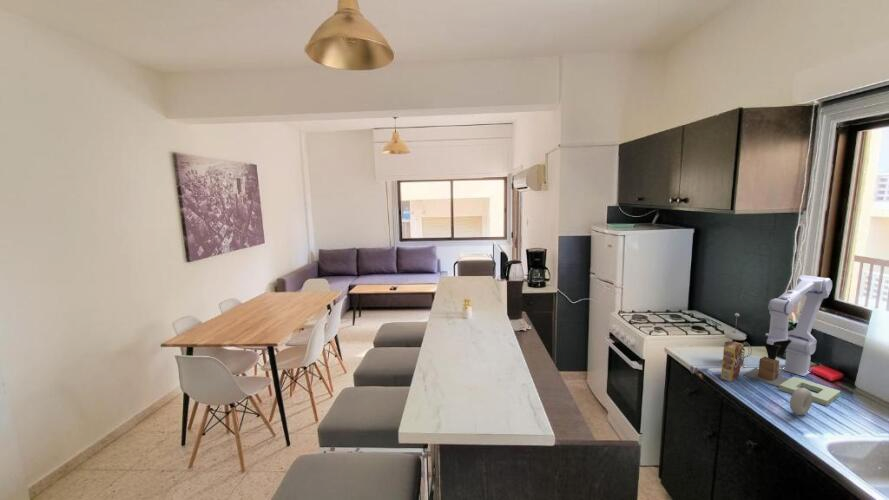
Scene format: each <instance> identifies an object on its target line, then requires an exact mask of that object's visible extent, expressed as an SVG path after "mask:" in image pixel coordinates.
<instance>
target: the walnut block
mask: <svg viewBox="0 0 889 500" xmlns="http://www.w3.org/2000/svg"><path fill="white" fill-rule="evenodd" d="M779 368H780V360H779V359H775V360H773V359H770V358H768V356H763V357H761V358H759V362H758V369H759V372H758V376H759V377H762V378H765V379H768V380H771V381H773V380H775V379H777V378H778V375H779V370H780V369H779Z"/></svg>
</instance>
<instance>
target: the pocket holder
mask: <svg viewBox="0 0 889 500" xmlns="http://www.w3.org/2000/svg"><path fill="white" fill-rule="evenodd" d="M798 388H806V389H808V390H809V391H810V392H811V394H812V402H814V403H817V404H820V405H823V406H828V405H830V404H831V403H832V402H834V401H835V400H836V399H838V398H839V397H840V396H841V390H838V389H835V388H832V387H829V386H826V385H823V384H820V383H817V382H813V381H810V380H807V379H804V378H800V377H797V376H794V375H793V376H791V377H790V378H789V379H788V380H787V381H785V382H783V383H782V384H780V385H779V387H778V390H780V391H782V392H786V393H788V394H791V395H792V394H793V393H794V391H795V390H796V389H798Z"/></svg>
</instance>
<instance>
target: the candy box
mask: <svg viewBox="0 0 889 500" xmlns="http://www.w3.org/2000/svg"><path fill="white" fill-rule="evenodd" d="M729 342H730V343H729V344H727V345H726V344H724V345H725V346H724V345H723V352H724V355H722V359H723V363H721V364H722V365H721V372H720V378H721V379H722V380H725V381H728V382H733V381H734V380H735V379H736V378H738V377H739V376H740V370H741V368H740V363H741V355H742V354H743V353H742V351H743V350H742V346H743V345H744V343H743V344H742V343H741V342H737V341H735V342H734V341H729ZM742 356H743V355H742Z"/></svg>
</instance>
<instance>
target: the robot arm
mask: <svg viewBox="0 0 889 500" xmlns="http://www.w3.org/2000/svg"><path fill="white" fill-rule="evenodd" d="M832 289H833V280H831V278H830V277H821V276H813V275H806V274H801V275H799V276H798V278H797V279H796V285H795V286H794V287H793V289H788V290H786V291H785V292H784V293H782V294H781V295H779V296H778V298H777V297H776V298H771V299H770V300H769V302H768V305H767V306H768V307H767V308H768V310H769V315H770V319H769V331H768V333H765V336H766V337H767V339H766V340H764V341H763V343H762V344H763V345H764V347H765V350H766V353H767V357H768V358H770V359H773V360H775V359H776V358H777V356H778V355H779V356H784V355H785V354H786V355H785V362H784V363H785V364H784V366H785V368H784V369H783V368H782V367H780V370H781V369H782V370H781V371H785V372H788V373H791V374H796V375H798V376H800V377H801V376H802V377H806V376H807V375H808V374H810V373H811V372H809V371H808V370H809V369H810V367H811V356H812V355H813V354H815V352H816V349H817V343H818V340H817V339H816V338H815V337H814V336H813V334H811V332H812V329H813V327H814V324H815V321H816V318H817V316H818V312H819V310H820V307H821V305H822V302H823V300H824V299H827V298H829V295H830V294H831V291H832ZM803 295H805V297H806V298H805V301H804V304H803V306H802V309H801V313H800V315H799V319H798V321H797V324H796V326H795V329H792V330H789V323H790V314H792V313H793V312H794V309H795V308H796V305H797V304H798V303H799V302H800V301H802V298H803V297H802V296H803ZM785 352H786V353H785ZM776 360H777V359H776Z"/></svg>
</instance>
